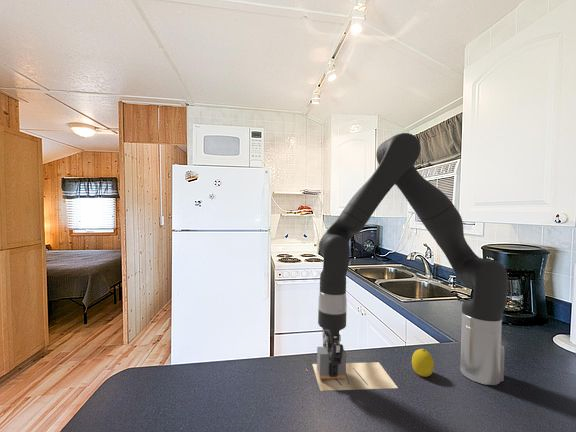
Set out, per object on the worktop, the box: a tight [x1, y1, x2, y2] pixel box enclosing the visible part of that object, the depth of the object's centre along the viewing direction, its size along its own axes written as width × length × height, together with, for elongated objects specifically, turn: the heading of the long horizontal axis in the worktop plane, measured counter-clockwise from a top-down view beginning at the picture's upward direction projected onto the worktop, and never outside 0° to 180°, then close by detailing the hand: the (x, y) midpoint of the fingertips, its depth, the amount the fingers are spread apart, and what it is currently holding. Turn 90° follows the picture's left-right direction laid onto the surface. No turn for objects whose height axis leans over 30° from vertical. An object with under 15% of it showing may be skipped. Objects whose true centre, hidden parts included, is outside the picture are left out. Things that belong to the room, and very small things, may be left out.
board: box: [312, 361, 399, 392], centre depth 75 cm, size 20×12×1 cm, turn 95°
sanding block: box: [316, 346, 347, 379], centre depth 74 cm, size 7×4×6 cm, turn 95°
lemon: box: [411, 348, 435, 378], centre depth 76 cm, size 6×6×8 cm
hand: (331, 370), depth 74 cm, fingers closed on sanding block, 4 cm apart
